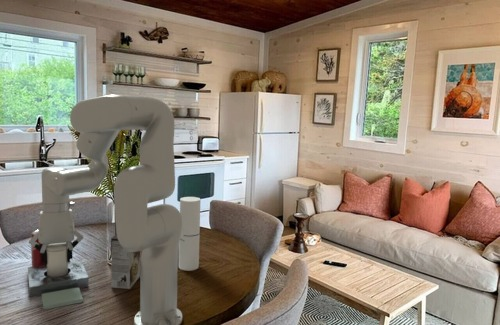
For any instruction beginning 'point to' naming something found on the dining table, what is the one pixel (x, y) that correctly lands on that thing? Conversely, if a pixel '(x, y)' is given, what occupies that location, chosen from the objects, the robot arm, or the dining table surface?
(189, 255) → the cylindrical container
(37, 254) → the soda can
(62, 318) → the dining table surface
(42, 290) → the housing
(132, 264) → the coffee box
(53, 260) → the white rounded cylinder
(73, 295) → the mat
